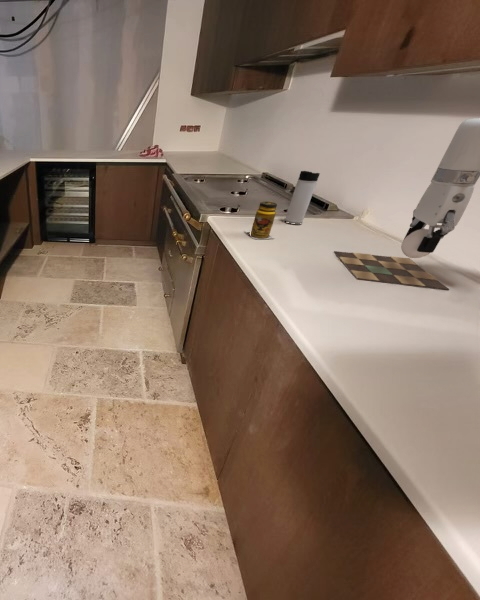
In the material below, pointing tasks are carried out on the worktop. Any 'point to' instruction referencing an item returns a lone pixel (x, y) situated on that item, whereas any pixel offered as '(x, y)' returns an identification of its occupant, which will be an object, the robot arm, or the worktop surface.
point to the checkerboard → (388, 270)
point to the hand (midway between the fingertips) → (417, 246)
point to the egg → (414, 244)
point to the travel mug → (301, 197)
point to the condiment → (263, 221)
